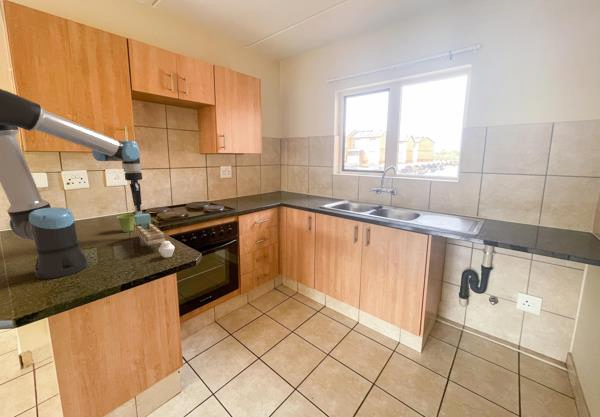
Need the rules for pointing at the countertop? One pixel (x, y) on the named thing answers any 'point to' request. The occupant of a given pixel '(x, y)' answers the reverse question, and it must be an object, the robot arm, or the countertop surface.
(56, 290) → the countertop surface
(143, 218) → the rider
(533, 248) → the countertop surface
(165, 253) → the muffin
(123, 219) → the plant pot
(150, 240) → the beam
